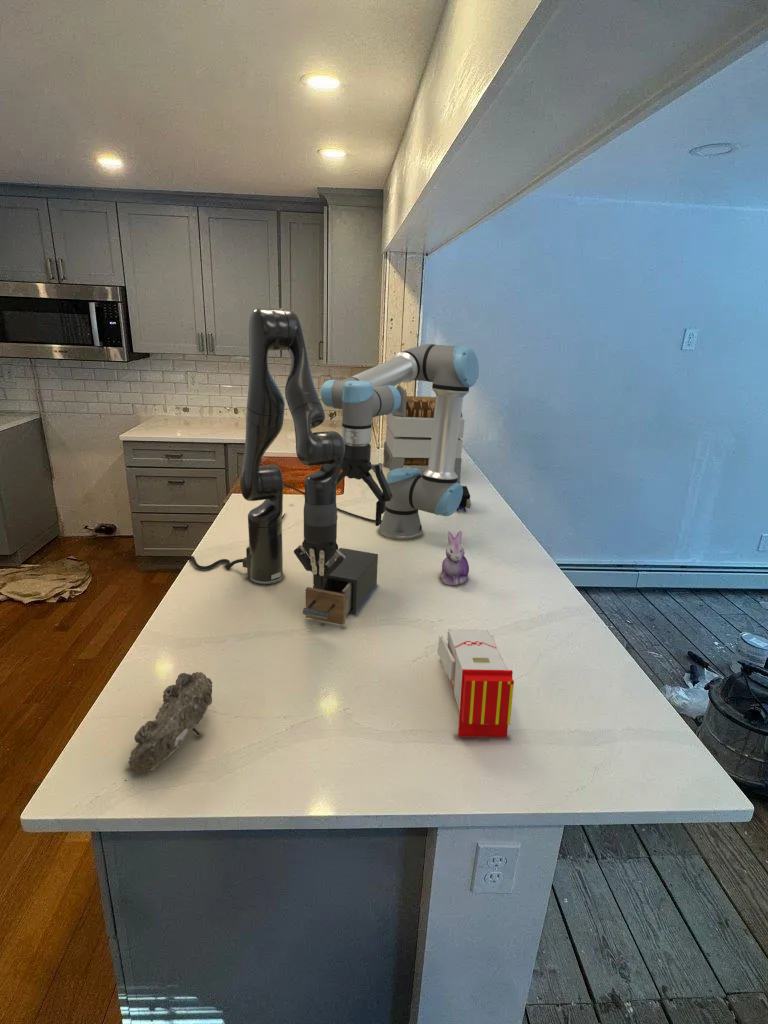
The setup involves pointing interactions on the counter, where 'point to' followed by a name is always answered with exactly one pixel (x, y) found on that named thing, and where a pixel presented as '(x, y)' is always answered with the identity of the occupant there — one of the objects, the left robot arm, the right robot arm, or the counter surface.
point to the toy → (478, 682)
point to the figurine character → (465, 499)
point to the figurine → (454, 561)
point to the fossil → (172, 721)
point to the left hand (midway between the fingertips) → (320, 587)
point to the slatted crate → (414, 433)
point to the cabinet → (357, 574)
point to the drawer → (329, 601)
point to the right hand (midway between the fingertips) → (354, 520)
